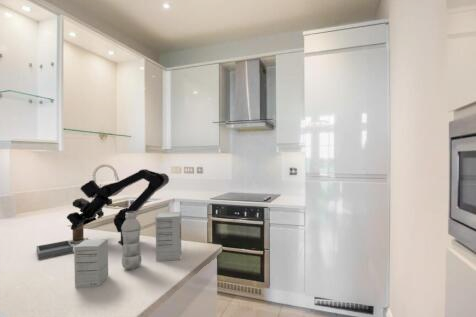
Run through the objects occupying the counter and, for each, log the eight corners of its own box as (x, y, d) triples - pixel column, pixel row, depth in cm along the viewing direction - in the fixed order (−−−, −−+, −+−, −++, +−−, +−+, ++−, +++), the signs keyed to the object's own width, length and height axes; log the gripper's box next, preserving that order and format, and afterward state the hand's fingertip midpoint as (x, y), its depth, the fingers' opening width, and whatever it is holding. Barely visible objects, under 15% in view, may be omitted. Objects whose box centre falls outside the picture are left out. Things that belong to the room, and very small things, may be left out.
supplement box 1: (86, 276, 85) (85, 238, 85) (109, 275, 86) (108, 238, 86) (73, 287, 78) (73, 246, 78) (99, 286, 79) (98, 245, 79)
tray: (73, 252, 109) (73, 246, 109) (38, 259, 101) (38, 253, 101) (68, 245, 117) (68, 240, 117) (36, 251, 110) (36, 246, 110)
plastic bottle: (134, 272, 88) (134, 214, 88) (117, 270, 90) (116, 213, 90) (145, 264, 95) (144, 210, 95) (128, 263, 96) (128, 210, 96)
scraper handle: (88, 239, 125) (88, 215, 125) (79, 244, 119) (79, 218, 119) (76, 239, 126) (76, 215, 126) (67, 243, 120) (67, 218, 120)
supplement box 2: (180, 260, 99) (179, 216, 99) (155, 261, 97) (155, 217, 97) (181, 251, 108) (181, 211, 108) (159, 252, 107) (158, 212, 107)
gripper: (98, 190, 131) (78, 211, 133) (70, 195, 113) (47, 220, 114) (112, 205, 130) (92, 227, 132) (87, 213, 112) (64, 238, 113)
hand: (75, 227), depth 123 cm, fingers closed on scraper handle, 4 cm apart
